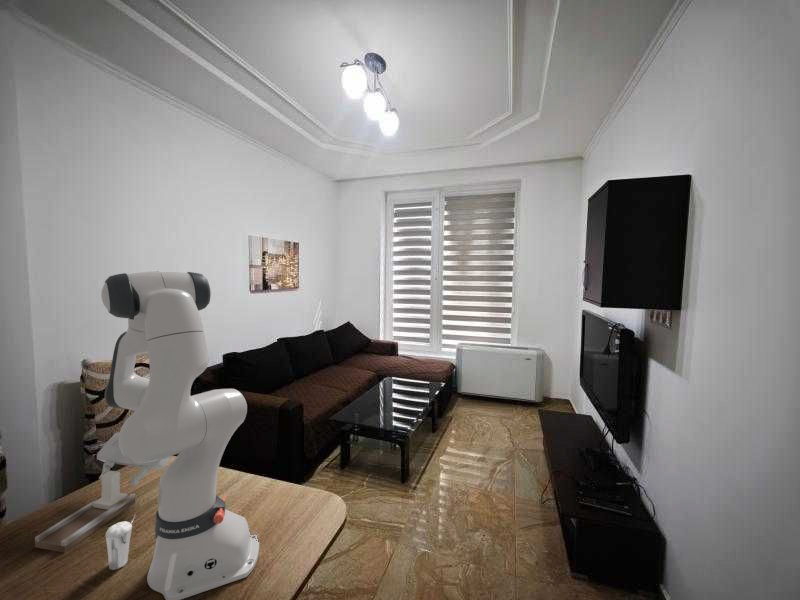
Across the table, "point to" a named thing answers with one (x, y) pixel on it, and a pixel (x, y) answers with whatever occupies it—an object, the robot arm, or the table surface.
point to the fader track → (79, 525)
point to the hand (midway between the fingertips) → (117, 482)
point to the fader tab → (110, 491)
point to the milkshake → (118, 544)
